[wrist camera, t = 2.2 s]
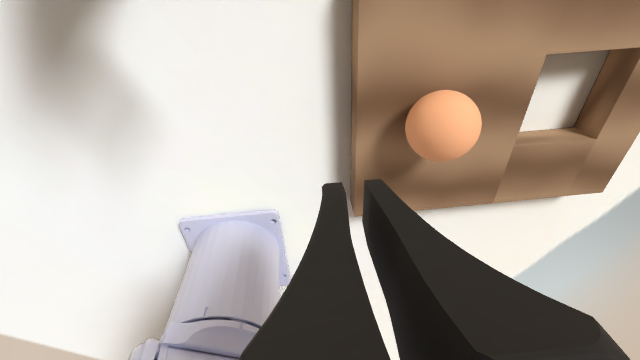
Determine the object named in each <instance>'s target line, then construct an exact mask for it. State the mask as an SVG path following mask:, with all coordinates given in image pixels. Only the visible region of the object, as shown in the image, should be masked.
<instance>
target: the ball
mask: <svg viewBox="0 0 640 360" xmlns="http://www.w3.org/2000/svg"><path fill="white" fill-rule="evenodd" d="M481 127H482V121H481V114H480V112H479V109H478V107H477V106H476V104H475V103H474V102H473V101H472V100H471V99H470V98H469V97H468V96H466V95H464V94H462V93H460V92H457V91H453V90H439V91H435V92H432V93H429V94H427V95H425V96H423V97H422V98H420V99H419V100H418V101H417V102H416V103H415V104H414V105H413V107H412V108H411V110H410V111H409V114H408V116H407V119H406V123H405V133H406V137H407V140H408V143H409V144H410V146H411V148H412V149H413V150H414V151H415V152H416V153H417V154H418V155H420V156H421V157H423V158H425V159H428V160H431V161H437V162H444V161H451V160H454V159H457V158H459V157H461V156H463V155H464V154H466V153H467V152H468V151H469V150H470V149H471V148H472V147H473V146H474V145H475V143H476V142H477V140H478V138H479V135H480V132H481Z"/></svg>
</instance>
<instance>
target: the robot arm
mask: <svg viewBox="0 0 640 360" xmlns="http://www.w3.org/2000/svg"><path fill="white" fill-rule="evenodd" d="M272 219H274V220H276V221H272ZM362 222H363V227H364V232H365V237H366V241H367V246H368V249H369V252H370V255H371V258H372V261H373V264H374V267H375V270H376V273H377V276H378V279H379V282H380V285H381V287H382V290H383V293H384V296H385V299H386V303H387V306H388V310H389V313H390V317H391V322H392V326H393V330H394V335H395V339H396V343H397V348H398V352H399V357H400V360H630V359H629V357H628V356H627V355H626V354H625V353H624V352H623V350H622V349H621V348H620V347H619V346H618V345H617V344H616V343H615V341H614V340H613V339H612V338H611V337H610V335H609V334H608V333H607V332H606V331H605V330H604V329H603V327H602V326H601V325H600V324H599V323H598V322H597V321H596V320H595V319H594V318H593V317H592V316H590V315H587V314H585V313H583V312H581V311H578V310H576V309H574V308H572V307H569V306H567V305H565V304H563V303H560V302H558V301H556V300H554V299H551V298H549V297H547V296H545V295H543V294H541V293H539V292H537V291H535V290H533V289H531V288H529V287H527V286H525V285H523V284H521V283H519V282H517V281H515V280H513V279H512V278H510V277H508V276H506V275H504V274H502V273H501V272H499V271H497V270H495V269H494V268H492V267H490V266H489V265H487V264H485V263H484V262H482V261H480V260H478V259H477V258H475V257H474V256H472V255H471V254H469V253H467V252H466V251H464V250H463V249H461V248H460V247H459V246H457V245H456V244H454V243H453V242H451V241H450V240H448V239H447V238H446V237H444V236H443V235H442V234H440V233H439V232H438V231H437V230H435V229H434V228H433V227H432V226H430V225H429V224H428V223H427V222H426V221H424V220H423V219H422V218H421V217H420V216H419V215H418V214H417V213H415V212H414V211H413V210H412V209H411V208H410V207H409V206H408V205H407V204H406V203H405V202H404V201H403V200H402V199H400V198H399V197H398V196H397V195H396V194H395V193H394V192H393V191H392V190H391V188H390V187H389V186H388V185H387V184H386V183H385V182H384V181H383V180H381V179H374V180H364V196H363V219H362ZM179 227H180V229H181V231H182V233H183V236H184V238H185V240H186V243H187V245H188V247H189V249H190V252H191V257H190V260H189V262H188V265H187V268H186V271H185V274H184V277H183V279H182V282H181V285H180V288H179V291H178V293H177V296H176V299H175V302H174V305H173V308H172V310H171V313H170V316H169V319H168V322H167V324H166V327H165V330H164V332H163V334H162V336H161V338H160V340H159V341H158V339H153V338H148V339H146V341H145V342H144V343H142V344H140V345H138V346H137V347H135V348H134V349H133V351H132V353H131V355H130V357H129V359H128V360H390V357H389V355H388V352H387V350H386V347H385V344H384V342H383V339H382V336H381V333H380V330H379V328H378V325H377V322H376V319H375V317H374V314H373V311H372V308H371V305H370V301H369V298H368V295H367V292H366V289H365V286H364V283H363V279H362V276H361V273H360V269H359V266H358V263H357V259H356V255H355V252H354V248H353V244H352V240H351V234H350V226H349V217H348V209H347V200H346V193H345V190H344V187H343V185H342V182H339V183H327V184H324V185H323V186H322V201H321V206H320V211H319V214H318V218H317V222H316V225H315V228H314V231H313V233H312V236H311V239H310V242H309V244H308V247H307V249H306V251H305V253H304V256H303V258H302V260H301V262H300V264H299V266H298V268H297V270H296V272H295V274H294V276H293V277H292V279H291V281H290V275H289V269H288V264H287V258H286V252H285V246H284V241H283V235H282V229H281V224H280V218H279V213H278V212H277V211H276V210H264V211H254V212H243V213H233V214H222V215H212V216H201V217H191V218H183V219H181V220H180V223H179ZM187 228H189V229H187ZM288 284H289V285H288ZM284 285H288V286H287V288H286V290H285V292H284V293H283V295H282V296H281V298H280V286H284Z"/></svg>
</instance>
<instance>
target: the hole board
mask: <svg viewBox="0 0 640 360" xmlns="http://www.w3.org/2000/svg"><path fill="white" fill-rule="evenodd" d="M599 50H610V52H609V54H608V56H607V59H606V61H605V63H604V65H603V67H602V69H601V71H600V73H599V75H598V78H597V80H596V82H595V84H594V86H593V88H592V90H591V92H590V94H589V97H588V99H587V101H586V103H585V105H584V107H583V109H582V111H581V113H580V116H579V118H578V120H577V122H576V124H575V126H574V127H572V128H561V129H550V130H538V131H527V132H519V130H520V127H521V125H522V122H523V119H524V116H525V114H526V111H527V108H528V105H529V103H530V100H531V97H532V94H533V91H534V89H535V86H536V83H537V80H538V78H539V75H540V72H541V69H542V67H543V64H544V61H545V58H546V56H547V54H560V53H573V52H586V51H599ZM439 90H453V91H457V92H460V93H462V94H464V95H466V96H468V97H469V98H470V99H471V100H472V101H473V102H474V103H475V104H476V106H477V107H478V109H479V112H480V114H481V121H482V127H481V132H480V135H479V138H478V140H477V142H476V143H475V145H474V146H473V147H472V148H471V149H470V150H469V151H468V152H467V153H466V154H464V155H463V156H461V157H459V158H457V159H454V160H451V161H444V162H437V161H431V160H428V159H425V158H423V157H421V156H420V155H418V154H417V153H416V152H415V151H414V150H413V149H412V148H411V146H410V144H409V143H408V140H407V137H406V133H405V123H406V119H407V116H408V114H409V111H410V110H411V108H412V107H413V105H414V104H415V103H416V102H417V101H418V100H419V99H420V98H422V97H423V96H425V95H427V94H429V93H432V92H435V91H439ZM639 132H640V0H352V78H351V204H352V208H353V211H354V215H355V216H363V196H364V180H374V179H381V180H383V181H384V182H385V183H386V184H387V185H388V186H389V187H390V188H391V190H392V191H393V192H394V193H395V194H396V195H397V196H398V197H399V198H400V199H402V200H403V201H404V202H405V203H406V204H407V205H408V206H409V207H410V208H411V209H412V210H413V211H415V210H425V209H436V208H446V207H456V206H467V205H477V204H487V203H497V202H508V201H518V200H528V199H538V198H549V197H559V196H569V195H579V194H590V193H600V192H603V191H604V189H605V187H606V186H607V184H608V182H609V181H610V179H611V178H612V176H613V174H614V173H615V171H616V169H617V168H618V166H619V165H620V163H621V161H622V160H623V158H624V156H625V155H626V153H627V152H628V150H629V148H630V147H631V145H632V144H633V142H634V140H635V139H636V137H637V135H638V134H639Z"/></svg>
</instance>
